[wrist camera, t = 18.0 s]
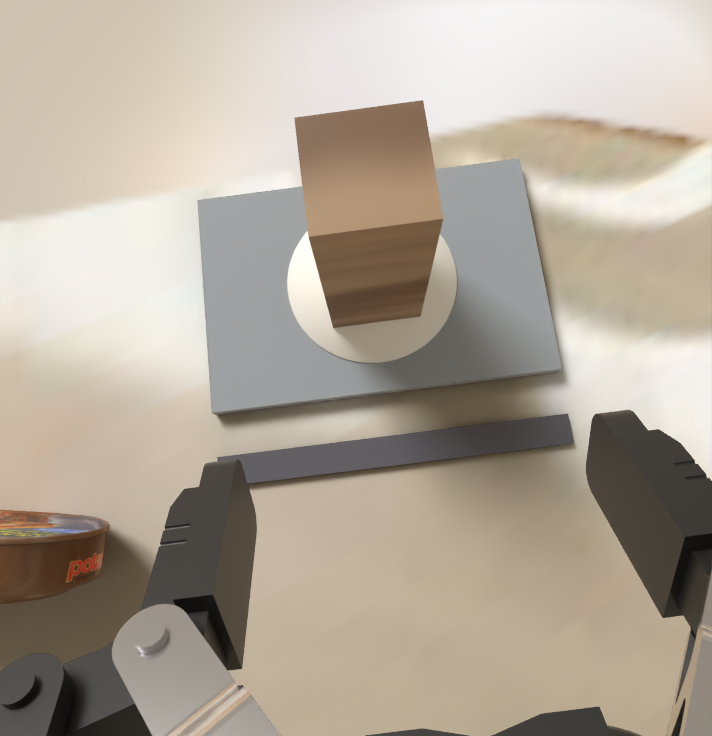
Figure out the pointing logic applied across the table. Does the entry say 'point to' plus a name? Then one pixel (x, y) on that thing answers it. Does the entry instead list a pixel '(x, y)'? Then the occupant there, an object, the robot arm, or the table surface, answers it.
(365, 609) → the table surface
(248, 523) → the robot arm
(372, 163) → the square wooden post
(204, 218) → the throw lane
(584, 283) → the table surface
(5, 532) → the tin
